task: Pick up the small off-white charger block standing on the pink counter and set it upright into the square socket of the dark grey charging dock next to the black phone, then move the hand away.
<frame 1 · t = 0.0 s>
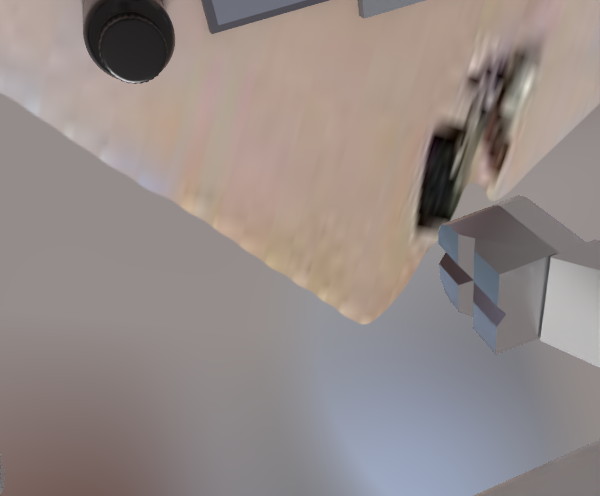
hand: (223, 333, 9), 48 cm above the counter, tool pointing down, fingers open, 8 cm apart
supplement bottle: (122, 12, 50), on the counter
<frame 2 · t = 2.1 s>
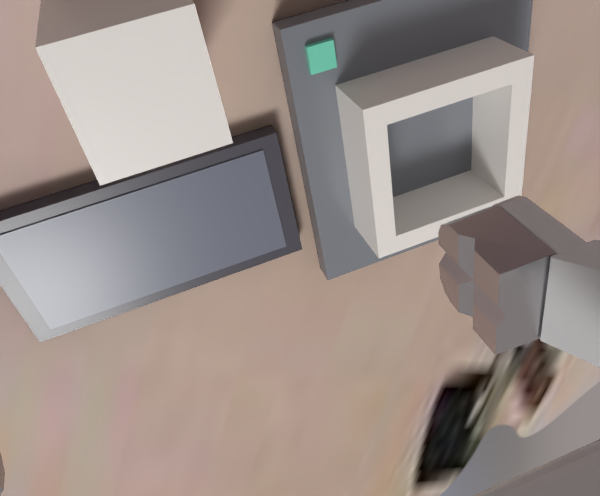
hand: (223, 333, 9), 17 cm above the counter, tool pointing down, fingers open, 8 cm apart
dock: (408, 128, 29), on the counter
phone: (151, 231, 28), on the counter
charger: (124, 37, 22), on the counter
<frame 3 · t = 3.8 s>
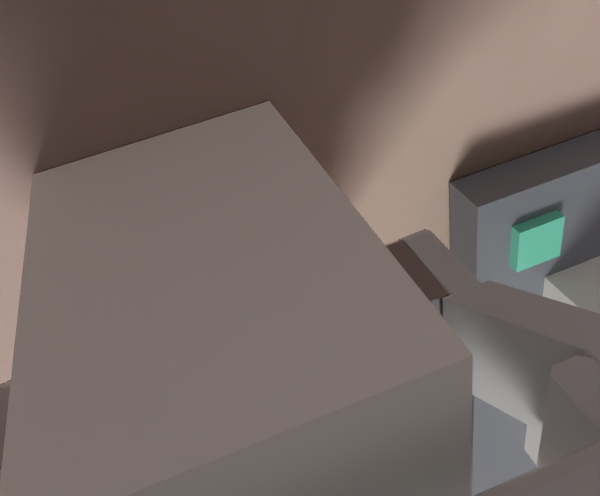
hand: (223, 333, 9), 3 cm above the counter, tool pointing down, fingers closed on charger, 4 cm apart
charger: (190, 232, 12), on the counter, touching gripper
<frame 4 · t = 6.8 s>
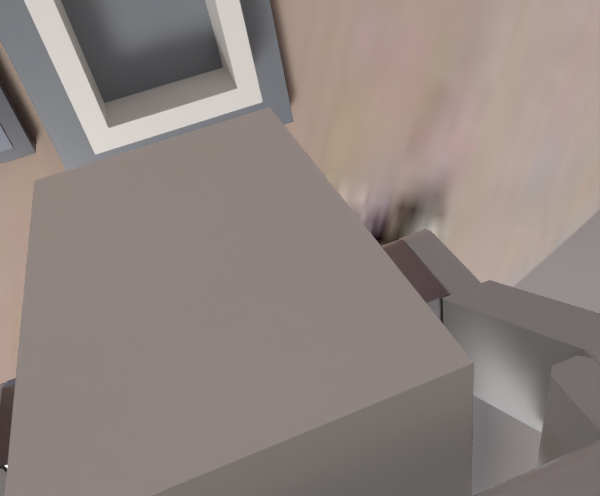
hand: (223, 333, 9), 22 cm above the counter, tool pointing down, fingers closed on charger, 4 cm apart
dock: (140, 16, 27), on the counter
charger: (191, 237, 12), point 19 cm above the counter, touching gripper
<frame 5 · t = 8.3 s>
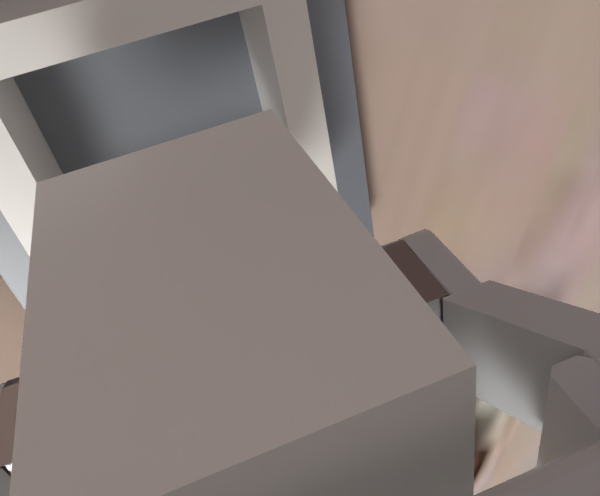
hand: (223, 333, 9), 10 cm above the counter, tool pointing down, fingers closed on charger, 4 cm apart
dock: (152, 104, 17), on the counter
charger: (192, 239, 12), point 7 cm above the counter, touching gripper
when the fingers open (5 cm above the counter, at t = 9.7 s): charger stays where it is, resting on dock.
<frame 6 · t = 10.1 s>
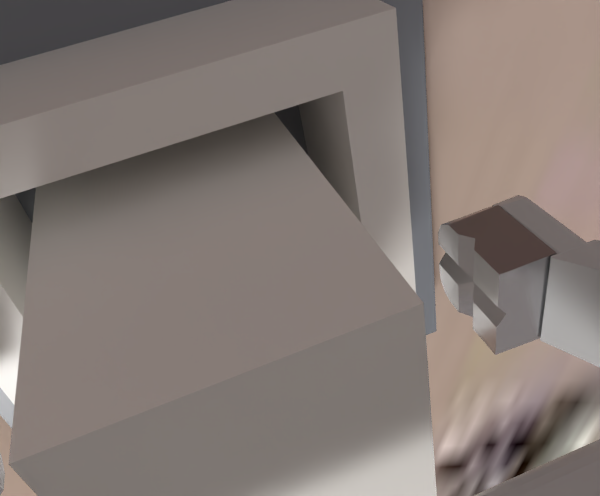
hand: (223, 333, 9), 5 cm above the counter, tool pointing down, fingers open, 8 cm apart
dock: (177, 187, 14), on the counter
charger: (185, 215, 13), point 1 cm above the counter, touching dock
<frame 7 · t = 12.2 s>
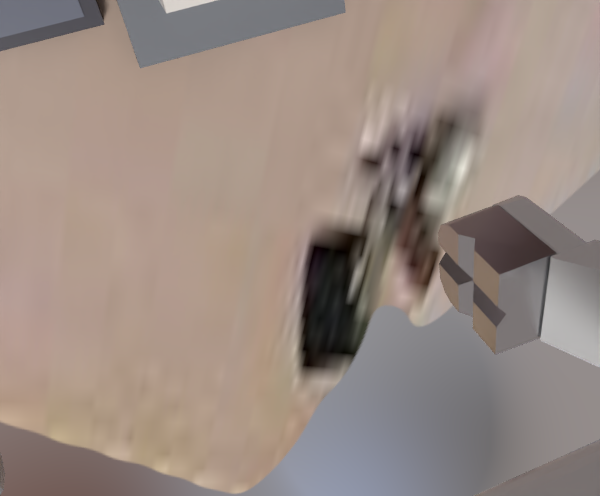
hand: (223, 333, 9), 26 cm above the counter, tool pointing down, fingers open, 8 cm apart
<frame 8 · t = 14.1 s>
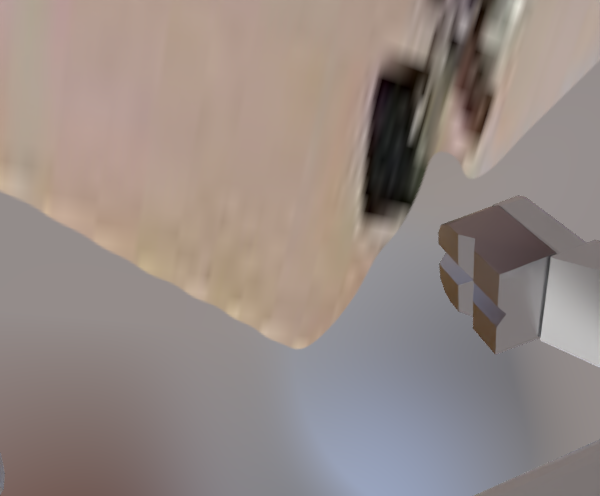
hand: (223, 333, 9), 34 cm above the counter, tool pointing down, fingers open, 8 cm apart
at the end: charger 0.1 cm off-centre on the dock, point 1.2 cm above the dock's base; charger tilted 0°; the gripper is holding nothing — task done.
